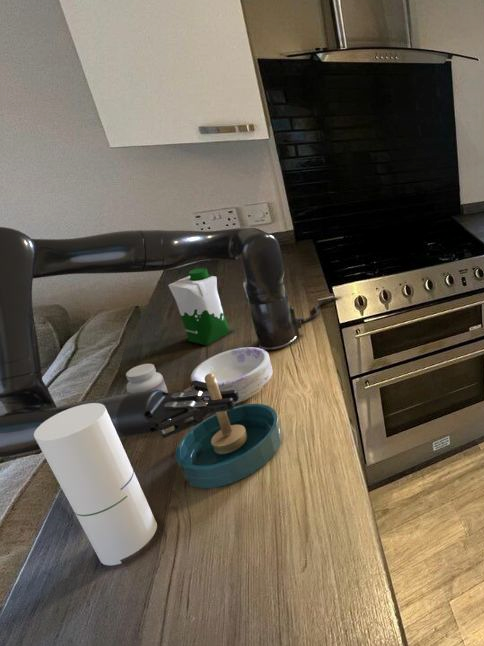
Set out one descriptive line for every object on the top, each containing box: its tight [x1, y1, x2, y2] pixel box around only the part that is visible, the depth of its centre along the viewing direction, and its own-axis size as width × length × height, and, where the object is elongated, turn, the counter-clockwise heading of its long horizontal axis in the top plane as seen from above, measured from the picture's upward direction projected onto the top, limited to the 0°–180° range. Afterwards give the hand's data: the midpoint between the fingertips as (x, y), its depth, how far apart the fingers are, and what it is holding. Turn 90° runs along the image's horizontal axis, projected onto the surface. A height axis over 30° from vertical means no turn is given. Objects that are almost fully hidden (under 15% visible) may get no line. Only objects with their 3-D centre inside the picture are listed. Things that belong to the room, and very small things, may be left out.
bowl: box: [174, 403, 283, 489], centre depth 86 cm, size 16×16×6 cm
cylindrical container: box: [34, 403, 158, 566], centre depth 66 cm, size 7×7×25 cm
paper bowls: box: [190, 346, 274, 405], centre depth 102 cm, size 15×15×8 cm
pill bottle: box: [125, 363, 169, 394], centre depth 96 cm, size 6×6×11 cm
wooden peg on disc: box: [205, 373, 247, 454], centre depth 84 cm, size 6×6×17 cm
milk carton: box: [167, 267, 231, 346], centre depth 122 cm, size 9×9×20 cm
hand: (235, 399), depth 84 cm, fingers closed on wooden peg on disc
